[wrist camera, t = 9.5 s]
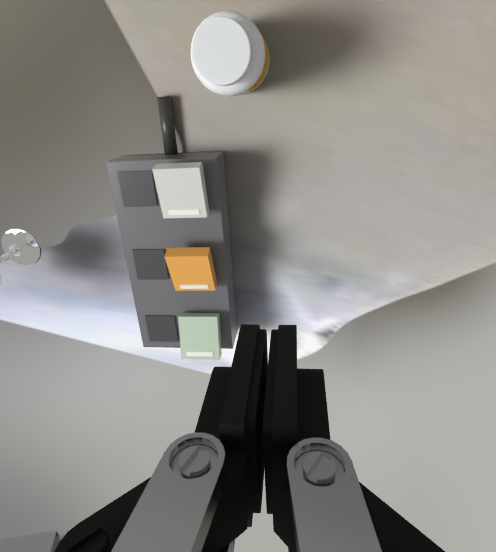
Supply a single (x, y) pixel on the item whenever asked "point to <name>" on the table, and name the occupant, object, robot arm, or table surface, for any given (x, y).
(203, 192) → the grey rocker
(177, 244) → the power strip
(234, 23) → the supplement bottle
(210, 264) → the orange white-striped slab
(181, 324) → the green rocker
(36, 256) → the wineglass
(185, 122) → the table surface
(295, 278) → the table surface
